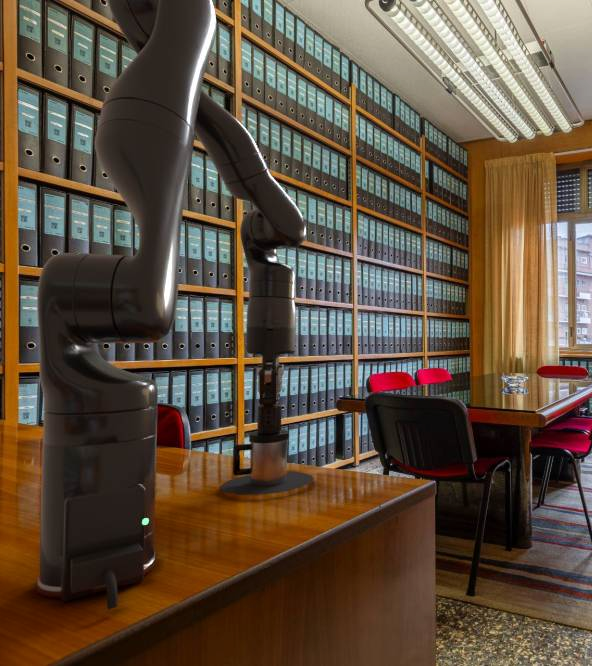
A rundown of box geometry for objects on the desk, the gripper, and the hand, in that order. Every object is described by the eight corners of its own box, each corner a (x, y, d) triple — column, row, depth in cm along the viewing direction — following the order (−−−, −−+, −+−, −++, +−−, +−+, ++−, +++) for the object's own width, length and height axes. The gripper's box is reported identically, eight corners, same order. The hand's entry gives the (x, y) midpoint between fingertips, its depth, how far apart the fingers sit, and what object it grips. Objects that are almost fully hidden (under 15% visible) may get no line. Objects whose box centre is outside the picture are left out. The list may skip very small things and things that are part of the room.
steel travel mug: (288, 475, 87) (289, 402, 87) (287, 484, 81) (288, 407, 82) (235, 480, 84) (236, 404, 84) (230, 489, 78) (231, 409, 79)
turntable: (327, 488, 83) (327, 482, 83) (236, 507, 73) (236, 500, 73) (293, 472, 93) (293, 467, 93) (209, 487, 83) (209, 481, 83)
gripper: (250, 326, 89) (248, 422, 88) (241, 323, 76) (239, 437, 75) (296, 327, 92) (294, 421, 91) (295, 324, 78) (292, 434, 78)
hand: (269, 427), depth 83 cm, fingers closed on steel travel mug, 3 cm apart
